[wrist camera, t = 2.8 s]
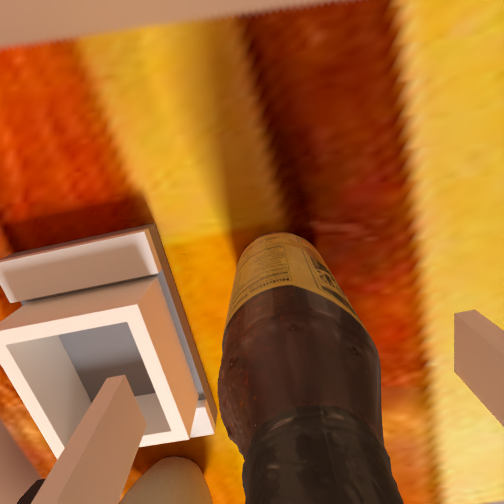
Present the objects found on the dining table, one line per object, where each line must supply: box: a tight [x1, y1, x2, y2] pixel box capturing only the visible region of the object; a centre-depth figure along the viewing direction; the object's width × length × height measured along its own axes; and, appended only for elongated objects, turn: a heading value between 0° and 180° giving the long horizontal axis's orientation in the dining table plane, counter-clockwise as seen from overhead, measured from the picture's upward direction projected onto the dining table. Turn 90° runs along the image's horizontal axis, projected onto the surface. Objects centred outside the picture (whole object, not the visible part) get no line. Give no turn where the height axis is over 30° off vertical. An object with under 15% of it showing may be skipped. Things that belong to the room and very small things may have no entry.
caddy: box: [0, 223, 217, 460], centre depth 23 cm, size 11×18×6 cm, turn 12°
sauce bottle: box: [218, 231, 403, 504], centre depth 14 cm, size 6×6×20 cm
